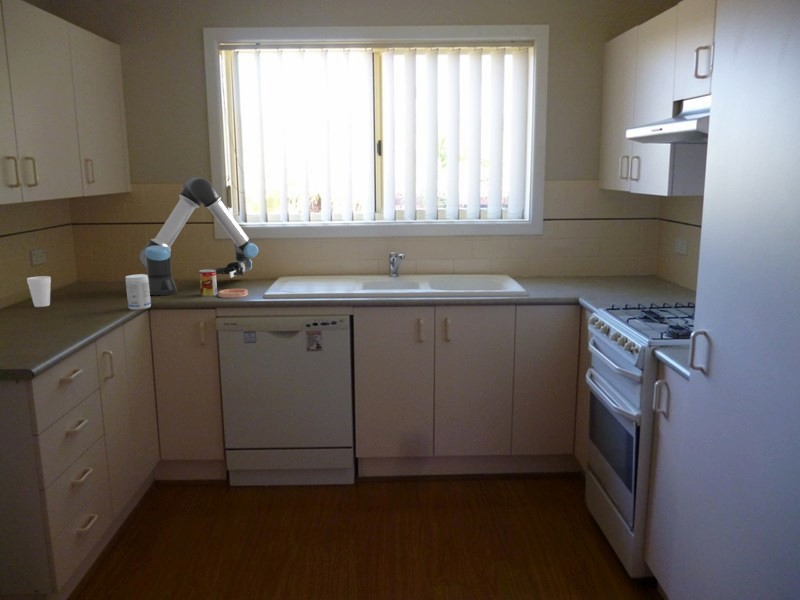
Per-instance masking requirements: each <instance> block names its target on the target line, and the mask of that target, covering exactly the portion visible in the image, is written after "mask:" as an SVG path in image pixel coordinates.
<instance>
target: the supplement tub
mask: <svg viewBox="0 0 800 600" xmlns="http://www.w3.org/2000/svg"><path fill="white" fill-rule="evenodd" d="M124 278H125V288H126V290H125V291H126V298H127V306H128V307H127V308H128V309H129V310H133V311H139V310H140V311H141V310H145V309H150V308H151V306H152V302H151V301H152V300H151V296H150V290H149V281H148V275H147V274H144V273H140V274H138V273H137V274H131V275H126V276H125V277H124Z"/></svg>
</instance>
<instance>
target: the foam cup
mask: <svg viewBox="0 0 800 600" xmlns="http://www.w3.org/2000/svg"><path fill="white" fill-rule="evenodd" d="M51 282H52V277H51V276H47V275H42V276H41V275H40V276H30V277H27V278H26V283H27V285H28V288H29V292H30V296H31V300H32V303H33V306H34V307H35V308H41V307H43V308H44V307H48V306H51Z"/></svg>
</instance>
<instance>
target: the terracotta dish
mask: <svg viewBox="0 0 800 600" xmlns="http://www.w3.org/2000/svg"><path fill="white" fill-rule="evenodd" d="M248 295H249V290H248V289H245V288H227V289H221V290H219V291H218V297H219V298H224V299H229V298H231V299H234V298H235V299H237V298H242V297H247V296H248Z"/></svg>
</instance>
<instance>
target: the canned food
mask: <svg viewBox="0 0 800 600" xmlns="http://www.w3.org/2000/svg"><path fill="white" fill-rule="evenodd" d="M211 269H212V268H208V269H201V270H199V271H198V273H199V274H198V275H199V286H200V288H199V290H200V295H201V296H202V295H203V297H212V295H213V296H216V294H217V295H218V287H217V285H218V284H217V274H216V270H211Z"/></svg>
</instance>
